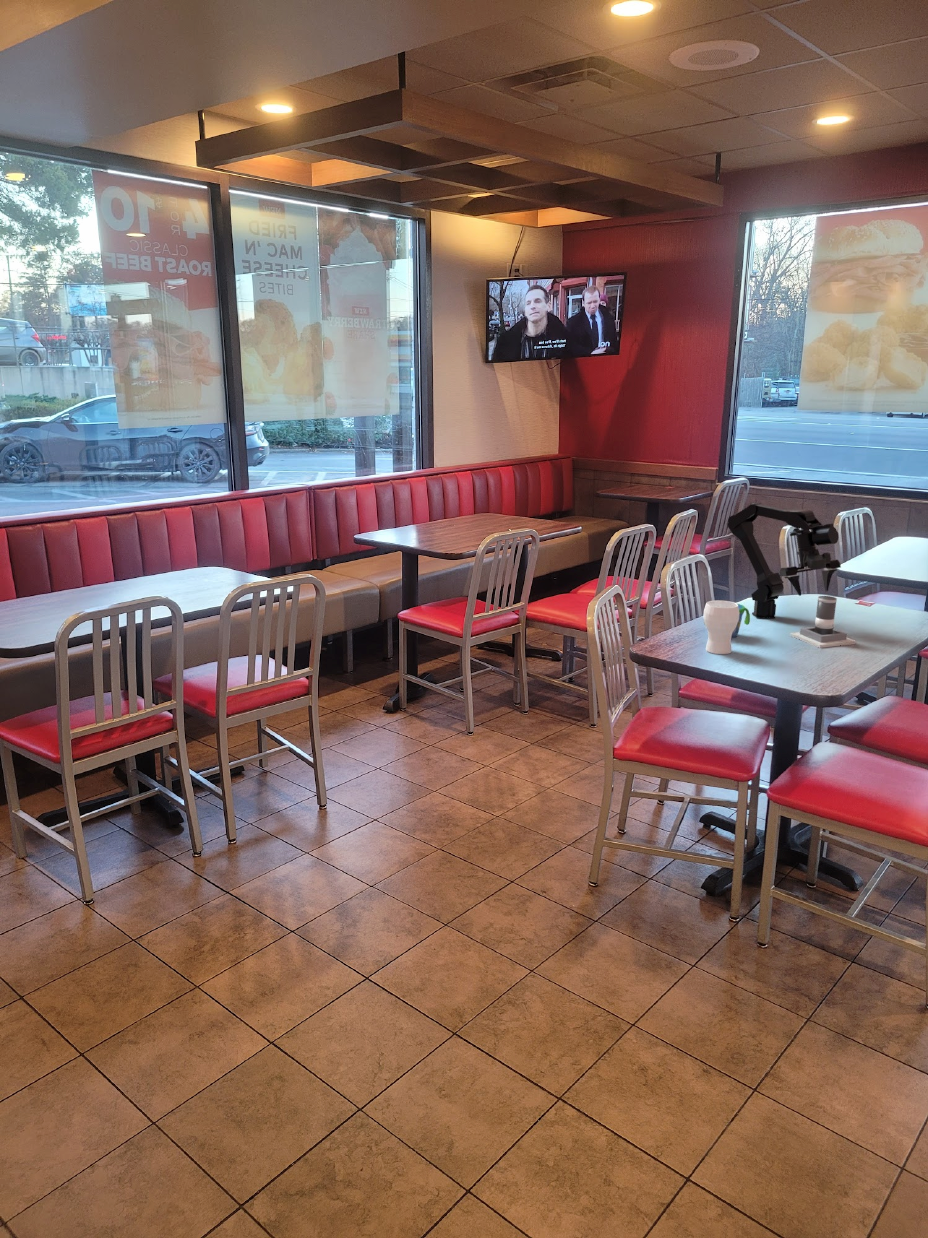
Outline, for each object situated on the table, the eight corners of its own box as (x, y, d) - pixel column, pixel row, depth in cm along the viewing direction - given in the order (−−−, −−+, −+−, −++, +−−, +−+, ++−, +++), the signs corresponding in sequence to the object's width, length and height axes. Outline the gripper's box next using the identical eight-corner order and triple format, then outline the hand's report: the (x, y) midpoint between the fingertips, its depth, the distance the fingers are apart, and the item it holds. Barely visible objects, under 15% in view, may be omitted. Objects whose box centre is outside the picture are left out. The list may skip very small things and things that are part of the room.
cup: (712, 657, 274) (715, 609, 270) (694, 647, 283) (697, 601, 279) (742, 654, 276) (747, 607, 272) (724, 644, 286) (728, 598, 282)
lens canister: (812, 637, 290) (816, 598, 287) (815, 633, 295) (819, 595, 291) (830, 640, 287) (835, 600, 284) (833, 636, 292) (838, 597, 289)
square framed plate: (790, 636, 295) (791, 627, 295) (825, 632, 300) (826, 623, 299) (819, 648, 283) (820, 638, 282) (855, 643, 287) (856, 634, 286)
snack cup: (741, 630, 302) (743, 600, 300) (755, 639, 292) (758, 608, 290) (697, 631, 300) (699, 602, 298) (709, 640, 290) (711, 610, 288)
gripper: (789, 551, 293) (796, 598, 294) (845, 542, 294) (851, 589, 294) (776, 552, 304) (782, 597, 305) (829, 543, 305) (836, 588, 306)
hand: (813, 593), depth 302 cm, fingers open, 9 cm apart
